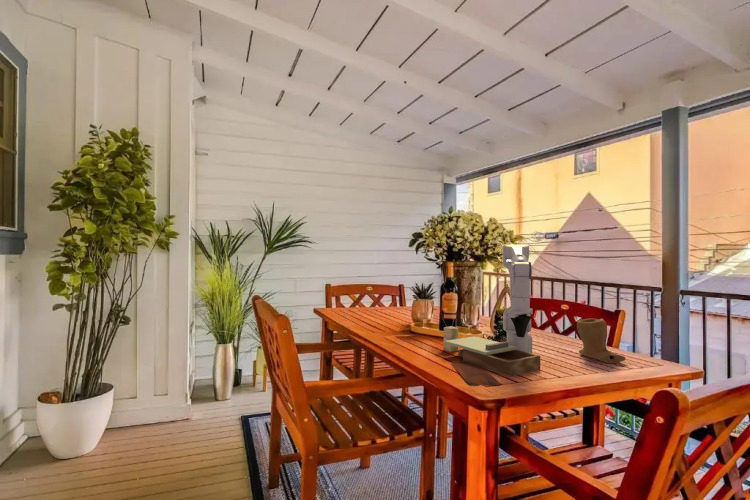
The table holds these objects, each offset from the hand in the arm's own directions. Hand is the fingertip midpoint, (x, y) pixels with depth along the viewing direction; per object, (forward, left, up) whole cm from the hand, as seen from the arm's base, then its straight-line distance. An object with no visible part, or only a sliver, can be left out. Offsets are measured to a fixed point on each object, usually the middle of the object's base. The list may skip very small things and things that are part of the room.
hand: (520, 336), depth 139 cm
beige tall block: (+4, -30, -10) cm, 32 cm away
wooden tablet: (+18, -4, -11) cm, 22 cm away
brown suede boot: (-34, +8, -11) cm, 37 cm away
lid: (+4, -15, -6) cm, 16 cm away
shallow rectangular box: (+4, -9, -10) cm, 14 cm away
